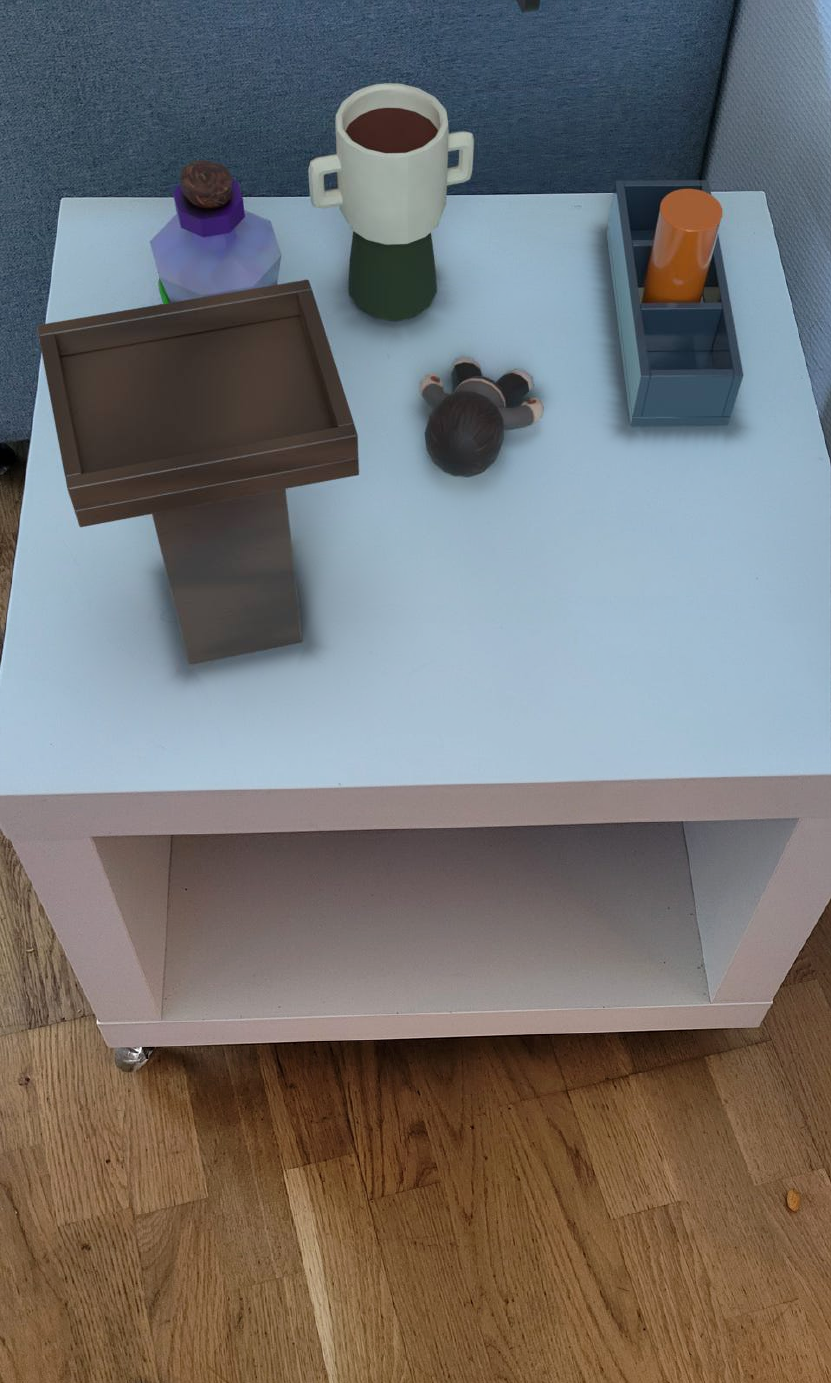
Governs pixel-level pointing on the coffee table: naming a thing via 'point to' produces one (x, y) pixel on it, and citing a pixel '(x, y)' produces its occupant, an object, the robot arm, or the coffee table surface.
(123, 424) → the walnut tray stand
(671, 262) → the orange glossy cylinder
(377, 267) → the character mug
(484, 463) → the figurine
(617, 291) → the three-compartment dish
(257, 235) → the potion bottle
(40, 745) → the coffee table surface
